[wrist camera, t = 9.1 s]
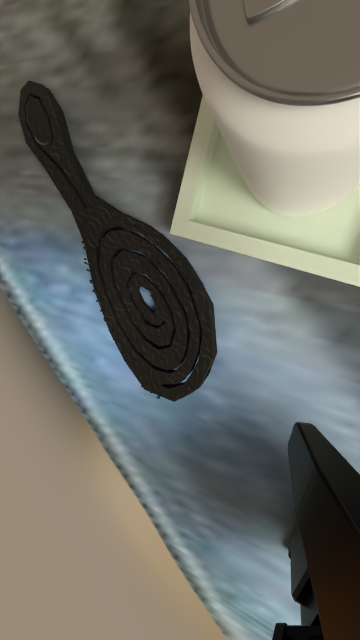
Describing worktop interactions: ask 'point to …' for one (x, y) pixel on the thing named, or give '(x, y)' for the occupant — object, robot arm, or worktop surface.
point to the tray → (260, 215)
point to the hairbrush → (128, 267)
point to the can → (284, 95)
